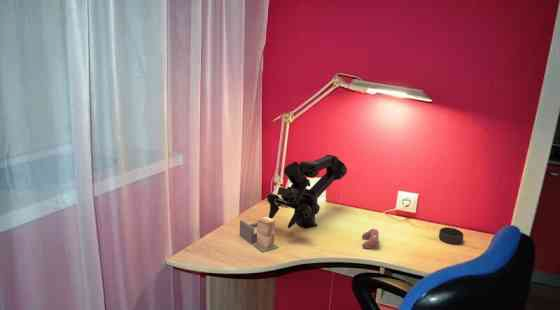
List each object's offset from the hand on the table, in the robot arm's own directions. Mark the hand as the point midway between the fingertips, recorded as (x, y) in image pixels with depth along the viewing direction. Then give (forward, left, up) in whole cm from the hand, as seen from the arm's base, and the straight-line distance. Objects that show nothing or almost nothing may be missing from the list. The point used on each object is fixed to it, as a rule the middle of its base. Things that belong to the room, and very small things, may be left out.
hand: (278, 223), depth 150 cm
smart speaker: (-61, +34, -7) cm, 70 cm away
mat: (+7, +2, -6) cm, 10 cm away
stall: (+6, -7, -6) cm, 11 cm away
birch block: (+7, +2, -6) cm, 10 cm away
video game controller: (-29, +20, -7) cm, 36 cm away
